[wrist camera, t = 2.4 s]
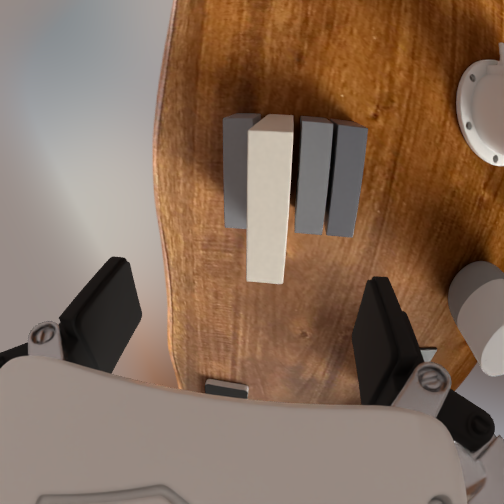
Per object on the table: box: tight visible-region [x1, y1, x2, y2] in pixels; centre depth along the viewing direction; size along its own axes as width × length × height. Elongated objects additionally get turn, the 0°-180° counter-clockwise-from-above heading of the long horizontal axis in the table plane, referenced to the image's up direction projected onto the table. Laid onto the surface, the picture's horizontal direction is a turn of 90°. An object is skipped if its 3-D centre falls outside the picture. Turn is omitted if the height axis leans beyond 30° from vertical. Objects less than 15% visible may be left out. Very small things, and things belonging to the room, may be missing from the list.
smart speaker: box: [448, 261, 504, 376], centre depth 27 cm, size 10×9×14 cm
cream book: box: [246, 114, 293, 284], centre depth 24 cm, size 10×2×14 cm, turn 179°
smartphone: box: [205, 379, 249, 399], centre depth 53 cm, size 8×1×15 cm
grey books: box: [223, 113, 368, 237], centre depth 27 cm, size 10×12×6 cm
